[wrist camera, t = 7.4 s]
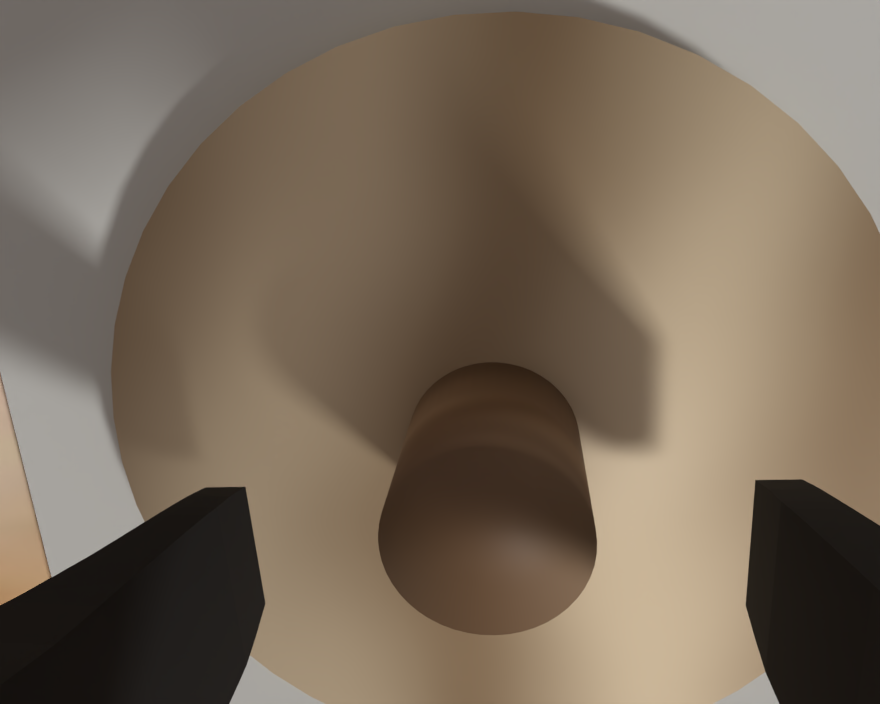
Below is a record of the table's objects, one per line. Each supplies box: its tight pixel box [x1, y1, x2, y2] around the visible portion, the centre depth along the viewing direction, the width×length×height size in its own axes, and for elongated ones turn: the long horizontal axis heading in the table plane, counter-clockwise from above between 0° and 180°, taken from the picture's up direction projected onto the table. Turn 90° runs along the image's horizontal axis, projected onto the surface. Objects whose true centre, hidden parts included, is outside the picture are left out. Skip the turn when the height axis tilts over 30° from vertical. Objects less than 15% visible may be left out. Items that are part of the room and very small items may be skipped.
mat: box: [0, 0, 880, 704], centre depth 14 cm, size 18×16×1 cm
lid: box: [111, 12, 880, 704], centre depth 12 cm, size 13×13×4 cm
